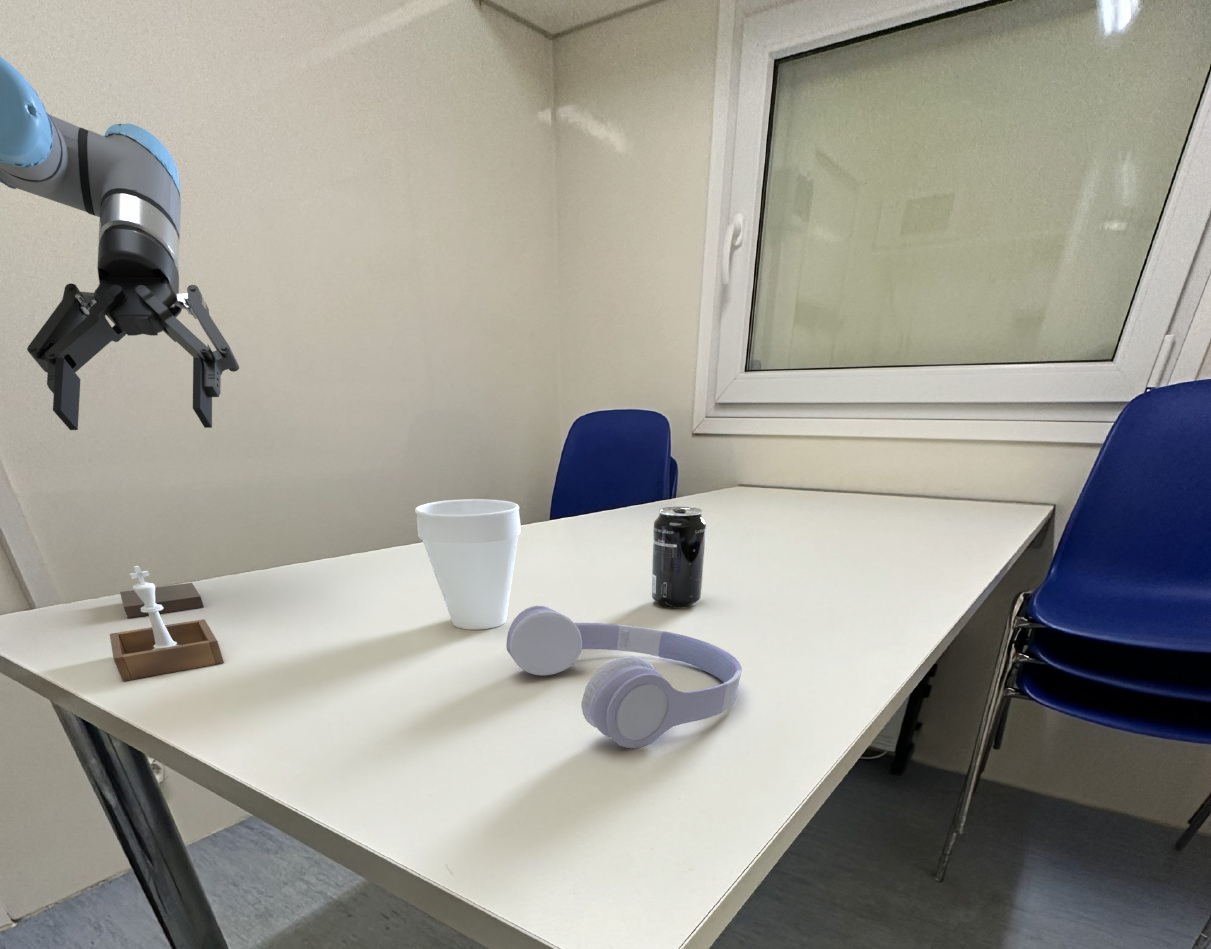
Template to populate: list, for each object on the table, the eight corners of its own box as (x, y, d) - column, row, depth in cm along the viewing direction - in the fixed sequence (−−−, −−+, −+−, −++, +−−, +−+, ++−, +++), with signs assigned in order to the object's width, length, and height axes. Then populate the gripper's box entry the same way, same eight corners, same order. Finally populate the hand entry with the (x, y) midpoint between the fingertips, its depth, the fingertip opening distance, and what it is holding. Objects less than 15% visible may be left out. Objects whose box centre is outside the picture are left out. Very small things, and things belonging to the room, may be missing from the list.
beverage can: (693, 595, 96) (699, 505, 90) (706, 609, 90) (713, 513, 84) (647, 597, 95) (649, 506, 89) (656, 611, 90) (660, 515, 83)
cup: (511, 639, 80) (502, 516, 73) (415, 633, 82) (396, 513, 75) (537, 609, 90) (531, 499, 83) (451, 605, 92) (437, 497, 85)
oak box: (122, 681, 69) (113, 658, 68) (118, 655, 76) (109, 633, 75) (224, 662, 74) (217, 640, 72) (211, 639, 81) (204, 618, 79)
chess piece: (138, 659, 75) (101, 567, 69) (184, 648, 78) (153, 558, 72) (155, 670, 72) (118, 574, 67) (202, 658, 75) (171, 565, 70)
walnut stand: (128, 618, 88) (123, 607, 87) (124, 602, 94) (119, 591, 93) (204, 607, 92) (200, 596, 91) (195, 592, 98) (192, 582, 98)
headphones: (596, 758, 54) (785, 723, 63) (601, 675, 51) (800, 649, 59) (499, 671, 71) (659, 652, 79) (498, 603, 67) (665, 591, 76)
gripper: (268, 292, 81) (270, 442, 77) (43, 291, 78) (32, 447, 74) (242, 227, 74) (243, 388, 70) (-8, 222, 71) (-23, 391, 66)
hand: (134, 419), depth 72 cm, fingers open, 13 cm apart
